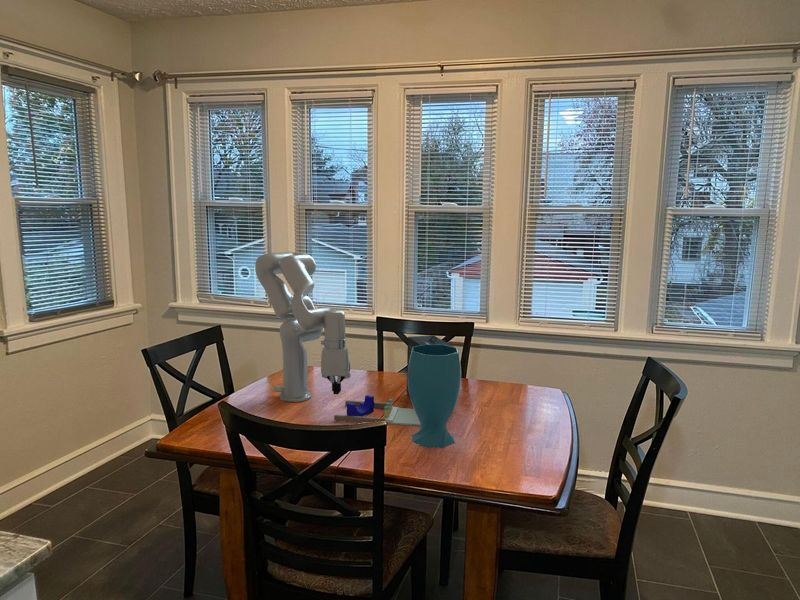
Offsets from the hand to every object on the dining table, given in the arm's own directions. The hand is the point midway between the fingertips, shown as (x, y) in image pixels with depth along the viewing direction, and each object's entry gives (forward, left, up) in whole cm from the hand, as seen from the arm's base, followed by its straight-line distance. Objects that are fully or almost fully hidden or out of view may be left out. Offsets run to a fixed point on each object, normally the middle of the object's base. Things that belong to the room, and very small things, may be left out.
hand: (336, 393), depth 202 cm
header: (+18, +1, -8) cm, 19 cm away
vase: (+37, -17, -8) cm, 42 cm away
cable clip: (+8, 0, -8) cm, 12 cm away
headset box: (+32, +21, -8) cm, 39 cm away
